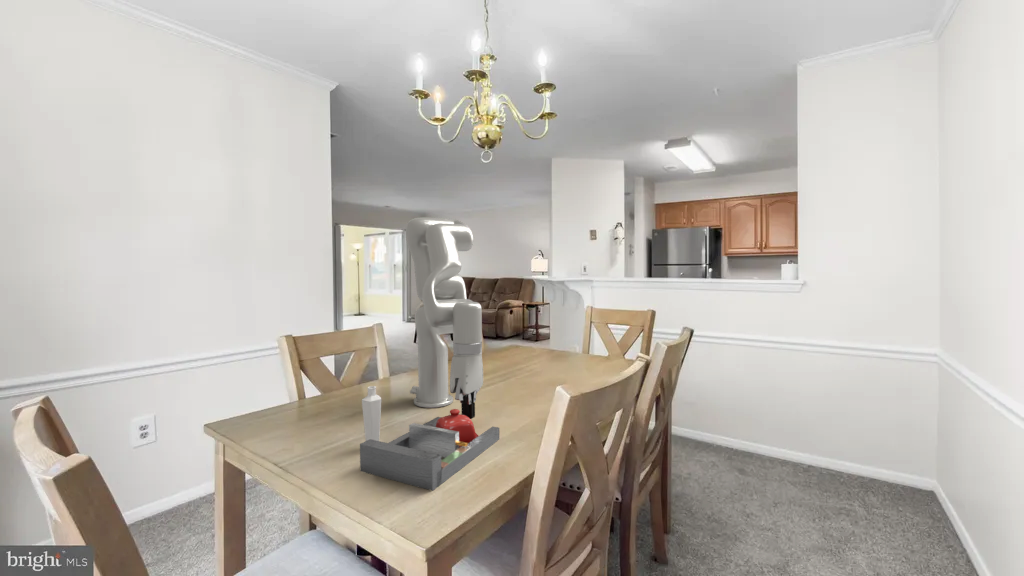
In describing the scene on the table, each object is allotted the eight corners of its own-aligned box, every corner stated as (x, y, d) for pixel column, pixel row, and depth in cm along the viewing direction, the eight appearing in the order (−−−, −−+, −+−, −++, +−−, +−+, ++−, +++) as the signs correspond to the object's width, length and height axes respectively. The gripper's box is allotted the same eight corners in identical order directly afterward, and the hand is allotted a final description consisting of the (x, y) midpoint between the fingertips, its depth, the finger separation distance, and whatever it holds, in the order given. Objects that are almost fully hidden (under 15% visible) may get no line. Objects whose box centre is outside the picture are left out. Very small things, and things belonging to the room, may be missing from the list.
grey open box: (360, 471, 95) (359, 444, 94) (438, 427, 120) (437, 405, 120) (432, 490, 86) (432, 460, 86) (499, 439, 112) (499, 416, 112)
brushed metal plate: (409, 449, 105) (409, 425, 104) (413, 447, 106) (413, 422, 106) (464, 462, 98) (464, 435, 98) (468, 459, 99) (468, 433, 99)
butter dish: (427, 438, 114) (426, 405, 113) (469, 431, 118) (469, 400, 118) (438, 455, 103) (437, 420, 103) (484, 447, 108) (484, 413, 107)
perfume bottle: (377, 442, 110) (375, 383, 109) (385, 447, 107) (384, 387, 106) (359, 447, 107) (358, 387, 106) (367, 453, 104) (366, 390, 103)
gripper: (470, 343, 124) (470, 407, 124) (439, 352, 110) (440, 424, 111) (493, 345, 120) (494, 411, 121) (464, 355, 107) (465, 429, 108)
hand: (468, 417), depth 116 cm, fingers closed
